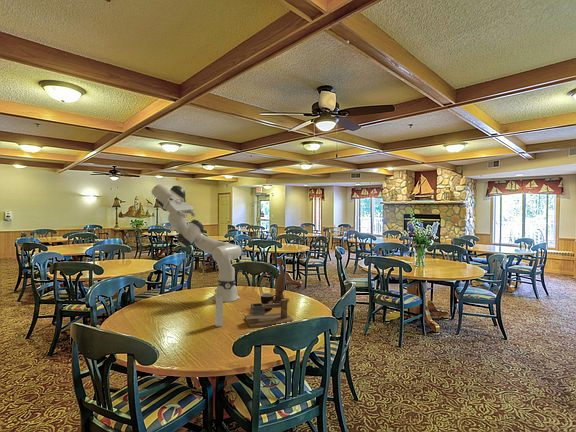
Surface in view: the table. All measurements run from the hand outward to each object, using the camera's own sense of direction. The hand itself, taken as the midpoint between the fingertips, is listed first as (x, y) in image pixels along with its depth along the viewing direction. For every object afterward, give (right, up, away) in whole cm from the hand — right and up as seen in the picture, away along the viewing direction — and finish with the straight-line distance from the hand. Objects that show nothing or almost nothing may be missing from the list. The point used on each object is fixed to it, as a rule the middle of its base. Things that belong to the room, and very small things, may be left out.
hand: (190, 216), depth 198 cm
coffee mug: (+47, -61, +15) cm, 78 cm away
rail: (+20, -61, -14) cm, 66 cm away
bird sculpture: (+53, -61, +33) cm, 87 cm away
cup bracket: (+48, -62, -5) cm, 78 cm away
